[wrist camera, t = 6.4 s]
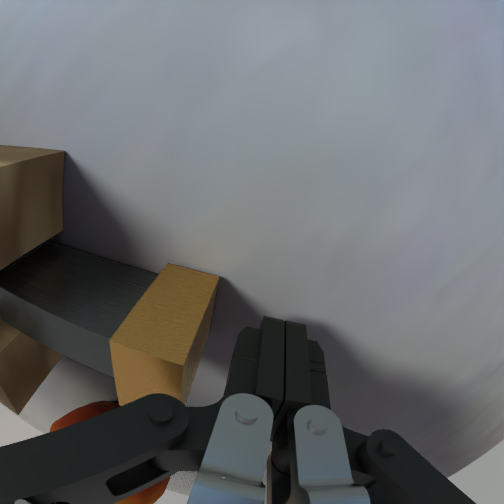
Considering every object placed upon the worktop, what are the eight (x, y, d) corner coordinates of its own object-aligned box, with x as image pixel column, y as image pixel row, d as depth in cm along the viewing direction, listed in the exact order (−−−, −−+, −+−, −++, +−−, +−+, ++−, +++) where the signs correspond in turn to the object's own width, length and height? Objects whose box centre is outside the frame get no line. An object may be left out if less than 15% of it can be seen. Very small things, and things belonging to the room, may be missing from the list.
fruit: (227, 456, 14) (157, 545, 9) (171, 424, 20) (118, 491, 15) (121, 375, 12) (33, 480, 7) (95, 359, 18) (33, 431, 13)
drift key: (50, 228, 11) (-23, 274, 6) (219, 276, 11) (183, 365, 6) (55, 285, 12) (-4, 339, 8) (208, 337, 12) (177, 425, 8)
